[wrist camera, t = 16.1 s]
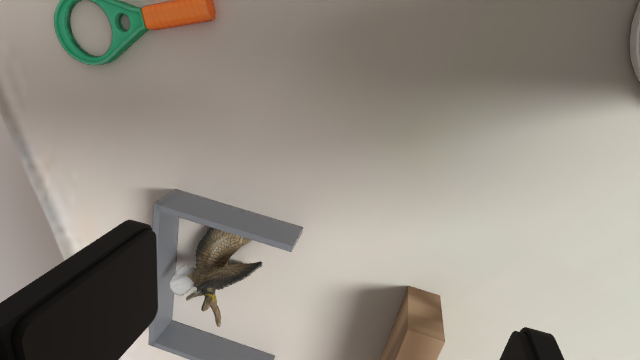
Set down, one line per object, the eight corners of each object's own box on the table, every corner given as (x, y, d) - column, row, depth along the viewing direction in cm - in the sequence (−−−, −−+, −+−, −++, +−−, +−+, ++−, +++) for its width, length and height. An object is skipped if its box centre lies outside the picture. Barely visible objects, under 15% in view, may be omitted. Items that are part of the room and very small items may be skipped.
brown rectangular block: (439, 294, 36) (444, 341, 30) (402, 382, 41) (401, 437, 35) (408, 284, 36) (407, 329, 31) (374, 373, 41) (369, 425, 36)
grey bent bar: (303, 227, 36) (292, 246, 33) (273, 359, 43) (263, 385, 40) (175, 189, 38) (153, 203, 35) (167, 322, 45) (148, 344, 42)
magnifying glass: (78, 68, 36) (63, 69, 35) (55, -2, 34) (38, -4, 33) (224, 46, 32) (215, 47, 31) (208, -34, 30) (197, -37, 29)
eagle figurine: (253, 312, 40) (286, 262, 35) (188, 340, 35) (214, 287, 30) (221, 254, 43) (247, 201, 38) (158, 272, 39) (177, 214, 33)
